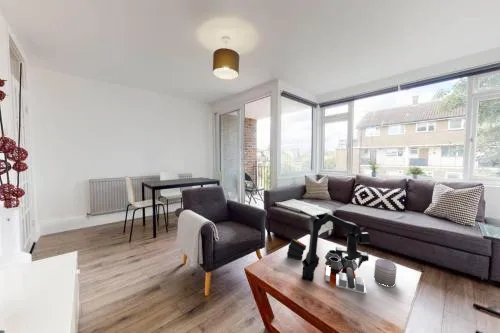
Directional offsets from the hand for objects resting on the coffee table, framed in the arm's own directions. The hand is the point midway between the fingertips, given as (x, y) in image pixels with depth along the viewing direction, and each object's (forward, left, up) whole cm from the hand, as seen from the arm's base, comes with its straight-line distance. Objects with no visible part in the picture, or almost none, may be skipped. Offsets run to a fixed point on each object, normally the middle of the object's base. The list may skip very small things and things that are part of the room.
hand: (350, 266), depth 130 cm
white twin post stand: (0, -7, -8) cm, 11 cm away
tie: (-13, -4, -8) cm, 16 cm away
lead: (0, -5, -6) cm, 8 cm away
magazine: (-36, +8, -8) cm, 38 cm away
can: (+20, +6, -8) cm, 22 cm away
